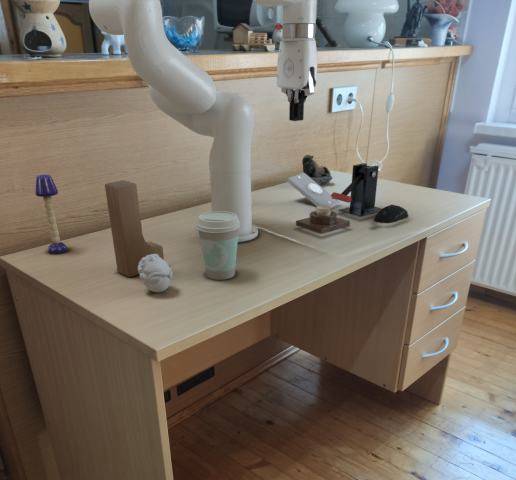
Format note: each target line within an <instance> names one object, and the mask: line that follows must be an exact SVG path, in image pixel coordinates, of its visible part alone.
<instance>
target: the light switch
mask: <svg viewBox="0 0 516 480" xmlns="http://www.w3.org/2000/svg"><path fill="white" fill-rule="evenodd" d="M286 182H287V183H288V184H289V185H291V186H292V187H293V189H295V190H296V191H298V192H299V193H300V194H301V195H303V197H305V198H306V199H307V200H308V201H310V202H311V203H312V204H313V205H314V206H316V207H317V206H319V205H327V206H330V207H332V206H335V205H337V204H339V203H341V202H340V200H336V199H332V197H331V193H329V192H328V191H327V190H326V189H325V188H323V187H322V185H318V184H317V183H316V182H315V181H314V180H312V179H311V178H310V177H309V176H307V175H306V174H305V173H303V172H302V173H299V174H296V175H292V176H289V177H287V179H286Z"/></svg>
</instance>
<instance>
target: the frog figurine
mask: <svg viewBox="0 0 516 480" xmlns="http://www.w3.org/2000/svg"><path fill="white" fill-rule="evenodd" d="M138 272H139V274H138V275H139V279H140V280H142V284H143V285H144V286H145V288H147V289H148V290H149V291H151V292H152V293H162V292H164V291H166V290H167V289H168V288H169V287H170V284H171V281H172V280H173V274H174V272H173V271H172V268H171V267H170V265H169V263H168V262H167V261H166V260H165V259H164V260H163V259H162V258H160V257H159V255H158V254H151V255H147V256H145V257H143V258H142V260H140V262H139V265H138Z"/></svg>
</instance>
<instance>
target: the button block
mask: <svg viewBox="0 0 516 480" xmlns="http://www.w3.org/2000/svg"><path fill="white" fill-rule="evenodd" d="M350 224H351V220H347V219H344V218H341V217H338V214H337V213H336V212H335V211H332V210H331V215H330V216H318V215H316V210H313V211H310V213H309V217H306V218H305V217H304V218H301V219H297V220H296V221H295V226H296V227H300V228H301V229H302V228H303V229H304V230H307V231H311V232H314V233H316V234H319V235H322V234H326V233H329V232H333V231H337V230H339V229H345V228H348V227H350V226H351V225H350Z"/></svg>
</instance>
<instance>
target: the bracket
mask: <svg viewBox="0 0 516 480" xmlns="http://www.w3.org/2000/svg"><path fill="white" fill-rule="evenodd" d="M364 165H367V166H368V163H365V162H362V163H357V164H353V165H352V172H351V173H352V174H351V183H352V182H353V181H354V180H355V179H356V178H357V177H358V176H359V174H358V171H359V170H360V169H361V168H362V167H363V166H364ZM369 166H370V167H365V170H364V180H363V179H362V180H361V181H360V182H359V183H358V185H357V186H356V187H355V188H354V189H353V190H352V191H351V192H350V196H351V199H352V200H351V201H350V202H349V207H344V208H340V209H338V211H339V212H341V213H345V214H349V215H352V216H356V217H360V218H361V217H365V216H370V215H373V214H377V213H378V212H379V211H380V210H381V209H383V207H382V208H381V207H379V206H376V197H377V186H378V177H379V176H378V175H379V165H376V164H375V165H369Z"/></svg>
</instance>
